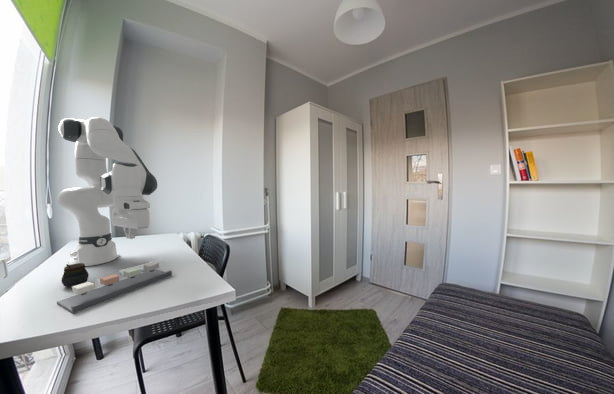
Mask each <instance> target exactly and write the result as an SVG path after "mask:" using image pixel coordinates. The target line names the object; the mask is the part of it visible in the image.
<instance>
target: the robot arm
mask: <svg viewBox="0 0 614 394" xmlns="http://www.w3.org/2000/svg"><path fill="white" fill-rule="evenodd" d="M58 124H59V125H58V131H59V134H60V135H61V138H63V139H64V140H65V141H69V142H71V143H75V147H74V166H75V174H76V175H77V177H78V178H79V179H82V180H84V181H85V182H87V184H88V186H89V187H88V186H87V187H86V186H84V187H83V186H81V187H80V186H77V187H76V186H75V187H71V188H66V189H63V190H61V191H60V192H59V193H58V195H57V202H58V204H59V205H60V206H61V207H62V208H63V209H65V210H67V211H69V212H71V213H72V214H73V216H74V217H75V219H77V222H78V227H79V235H80V236H79V237H78V240H77V241H78V245H77V246H76V247H75V248H74V250H73V251H71V252H70V257H71V258H70V259H67V262H68V265H71V264H76V263H84V264H85V267H91V266H96V265H102V264H106V263H109V262H111V261H112V262H113V261H114V260H115V259H117V258H119V257H120V256H121V254H120V253H118V252H117V246H116V242H115V241H113V235H112V234H113V233H112V232H111V224H112V226H114V227H118V228H122V229H123V231H124V234H125V238H126V239H129V240H133V239H135V238H136V232H137V231H138V230H142V229H143V230H144V229H147V228H149V227H150V206H151V204H150V202H148V201H147V200H145V199H144V198H143V196H149V195H151V194H153V193H155V191H156V190H157V189H158V181H157V178H156V177H155V175H154V174H152V173H151V172H150V170H149V169H148V168H147V166H146V165H145V163H144V161H143V160H142V159H141V157H140V156H139V155H138V153H137V152H136V150H134V149H133V148H132V147H131V146H129V145H128V144H126V143H125V142H124V139H125V136H124V135H125V134H124V132H123V130H122V128H120V127H119V126H116V125H113V124H112V123H111V122H110V121H109V120H107V119H105V118H102V117H96V116H95V117H90V118H89V119H87V120H84V119H76V118H73V117H72V118H71V117H70V118H66V117H65V118H63V119H61V120H60V123H58ZM107 159H109V160H115V161H117V162H114V163H113V164H112V169H111V170H110V171H108V169H107ZM110 207H112V210H111V223H110V219H109V218H108V217H107V216H106V215H102V214H101V213H100V211H99V209H102V208H110Z"/></svg>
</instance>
